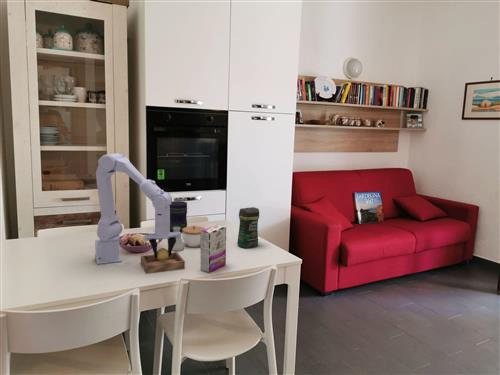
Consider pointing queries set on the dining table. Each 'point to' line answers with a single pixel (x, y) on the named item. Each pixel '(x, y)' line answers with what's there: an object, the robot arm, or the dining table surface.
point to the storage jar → (178, 215)
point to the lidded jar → (192, 235)
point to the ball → (162, 254)
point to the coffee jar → (248, 227)
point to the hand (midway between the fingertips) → (162, 256)
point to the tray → (162, 263)
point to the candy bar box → (213, 248)
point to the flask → (178, 241)
